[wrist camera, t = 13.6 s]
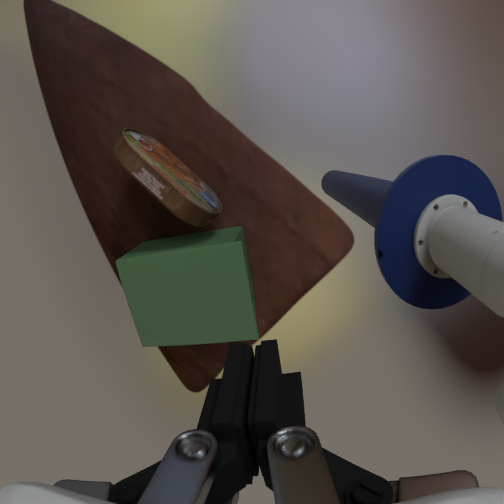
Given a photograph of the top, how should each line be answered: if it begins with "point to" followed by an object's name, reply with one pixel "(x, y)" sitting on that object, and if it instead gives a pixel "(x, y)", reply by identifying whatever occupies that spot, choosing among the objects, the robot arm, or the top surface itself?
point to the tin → (166, 178)
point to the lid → (190, 295)
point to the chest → (194, 245)
